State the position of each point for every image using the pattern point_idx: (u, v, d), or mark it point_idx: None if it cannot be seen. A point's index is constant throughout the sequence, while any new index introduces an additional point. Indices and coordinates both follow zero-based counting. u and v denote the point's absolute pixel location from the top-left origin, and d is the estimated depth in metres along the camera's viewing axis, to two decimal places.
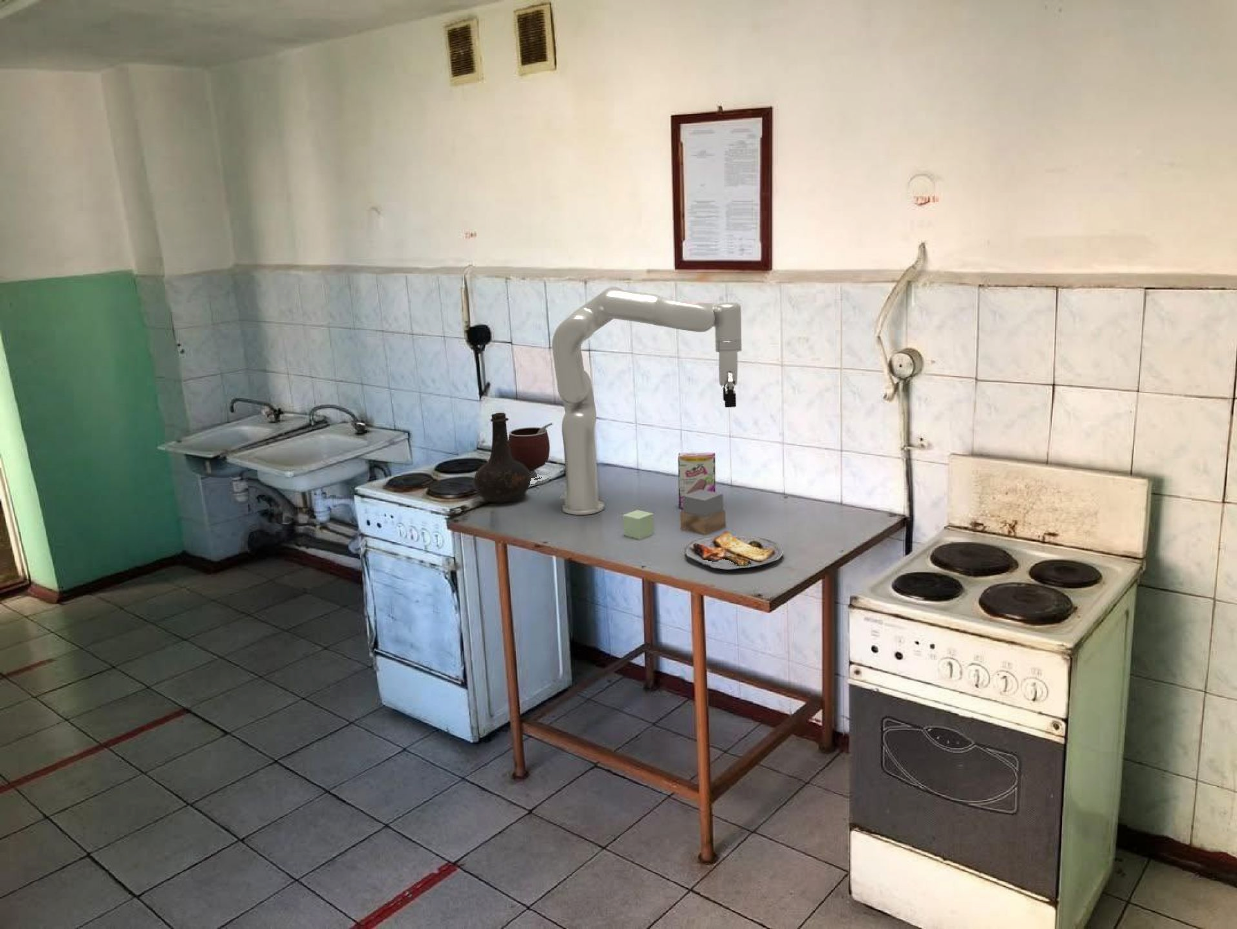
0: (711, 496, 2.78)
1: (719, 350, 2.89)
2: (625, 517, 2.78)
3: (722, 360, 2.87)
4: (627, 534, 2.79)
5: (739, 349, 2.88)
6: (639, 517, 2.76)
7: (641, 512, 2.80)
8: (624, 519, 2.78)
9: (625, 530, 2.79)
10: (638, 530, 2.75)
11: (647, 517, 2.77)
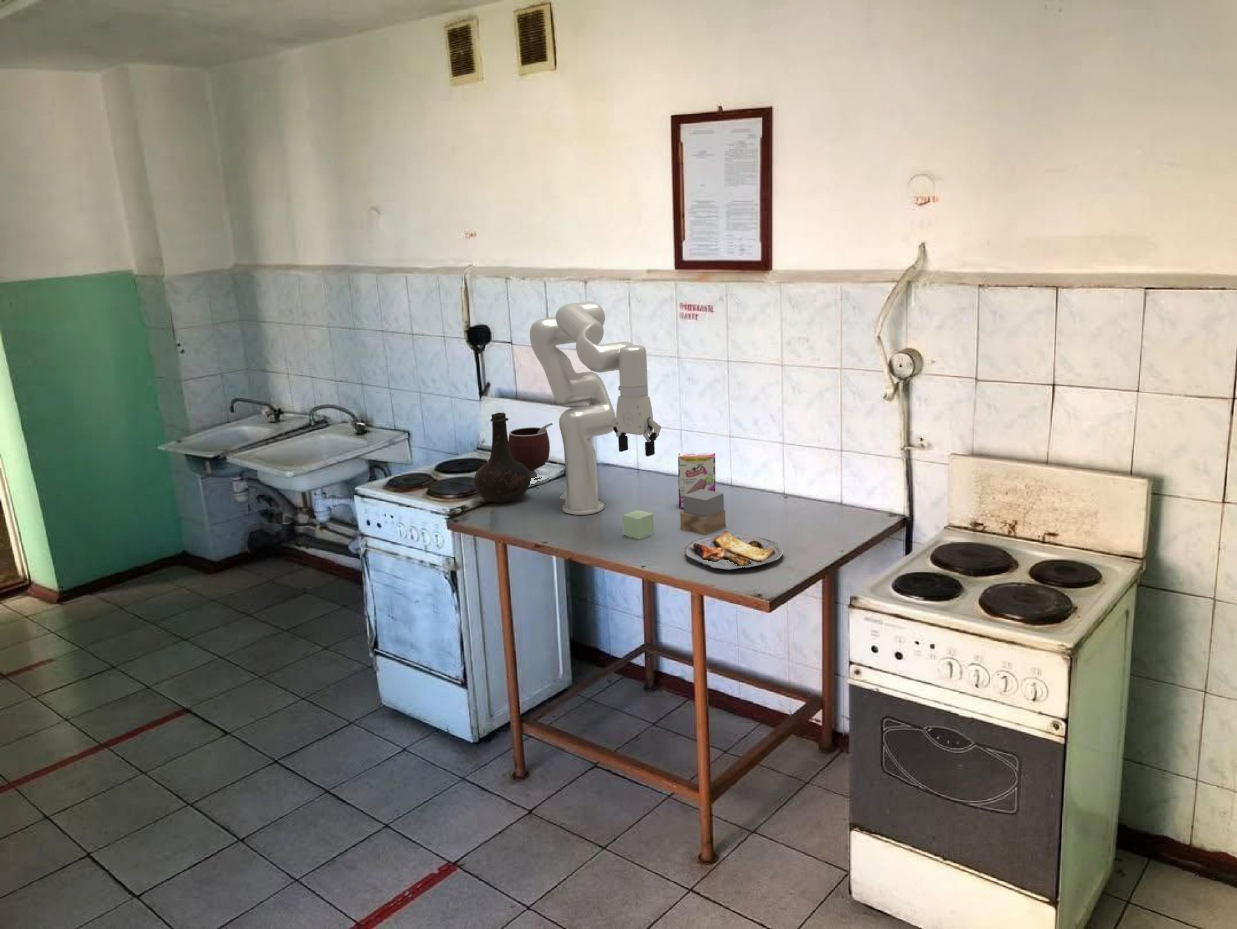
0: (712, 496, 2.79)
1: (633, 397, 2.67)
2: (625, 517, 2.78)
3: (642, 407, 2.66)
4: (627, 534, 2.79)
5: None
6: (639, 517, 2.76)
7: (641, 512, 2.80)
8: (624, 519, 2.78)
9: (625, 530, 2.79)
10: (638, 530, 2.75)
11: (647, 517, 2.77)
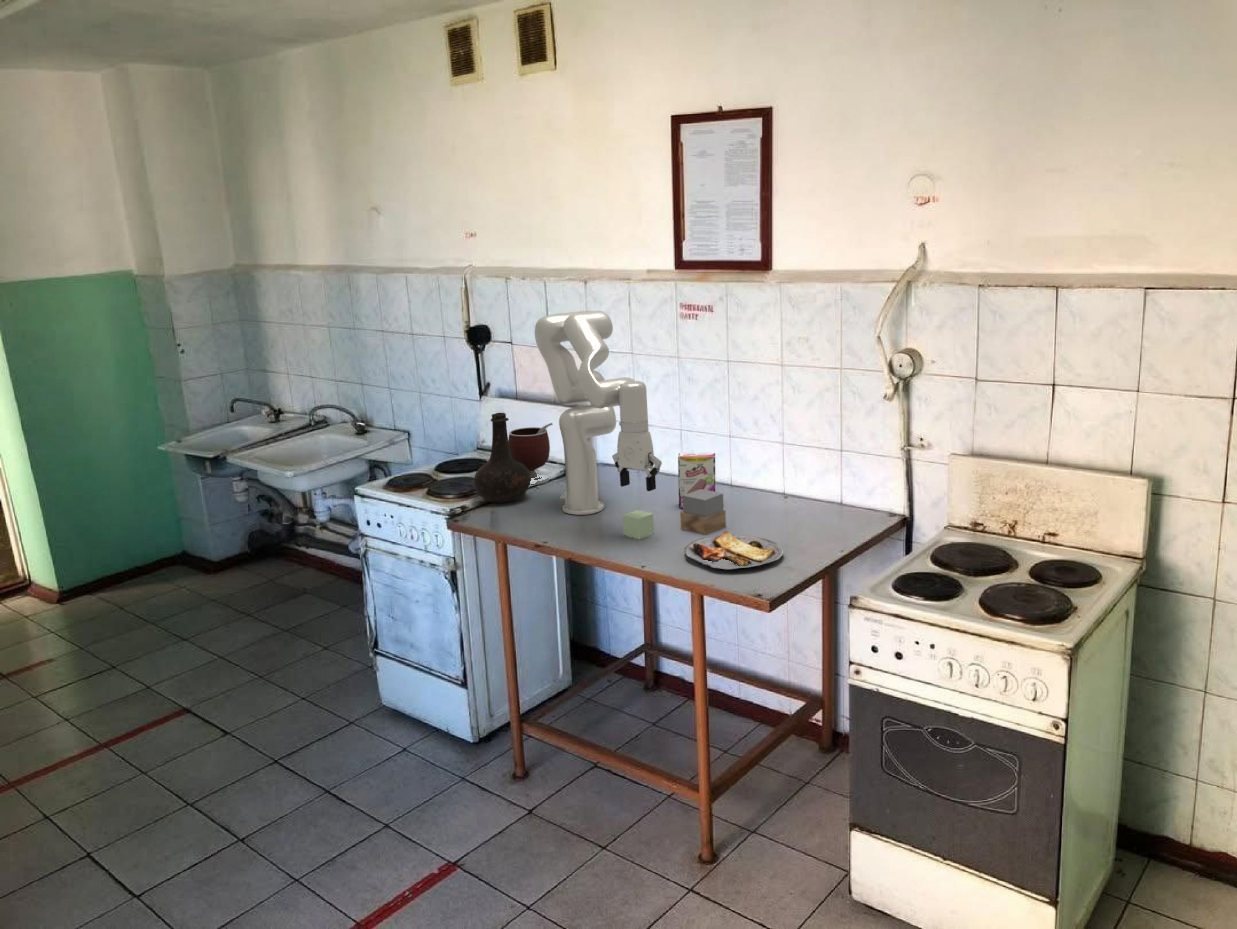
0: (711, 496, 2.79)
1: (634, 432, 2.69)
2: (625, 517, 2.78)
3: (642, 442, 2.68)
4: (627, 534, 2.79)
5: None
6: (639, 517, 2.76)
7: (641, 512, 2.80)
8: (624, 519, 2.78)
9: (625, 530, 2.79)
10: (638, 530, 2.75)
11: (647, 517, 2.77)
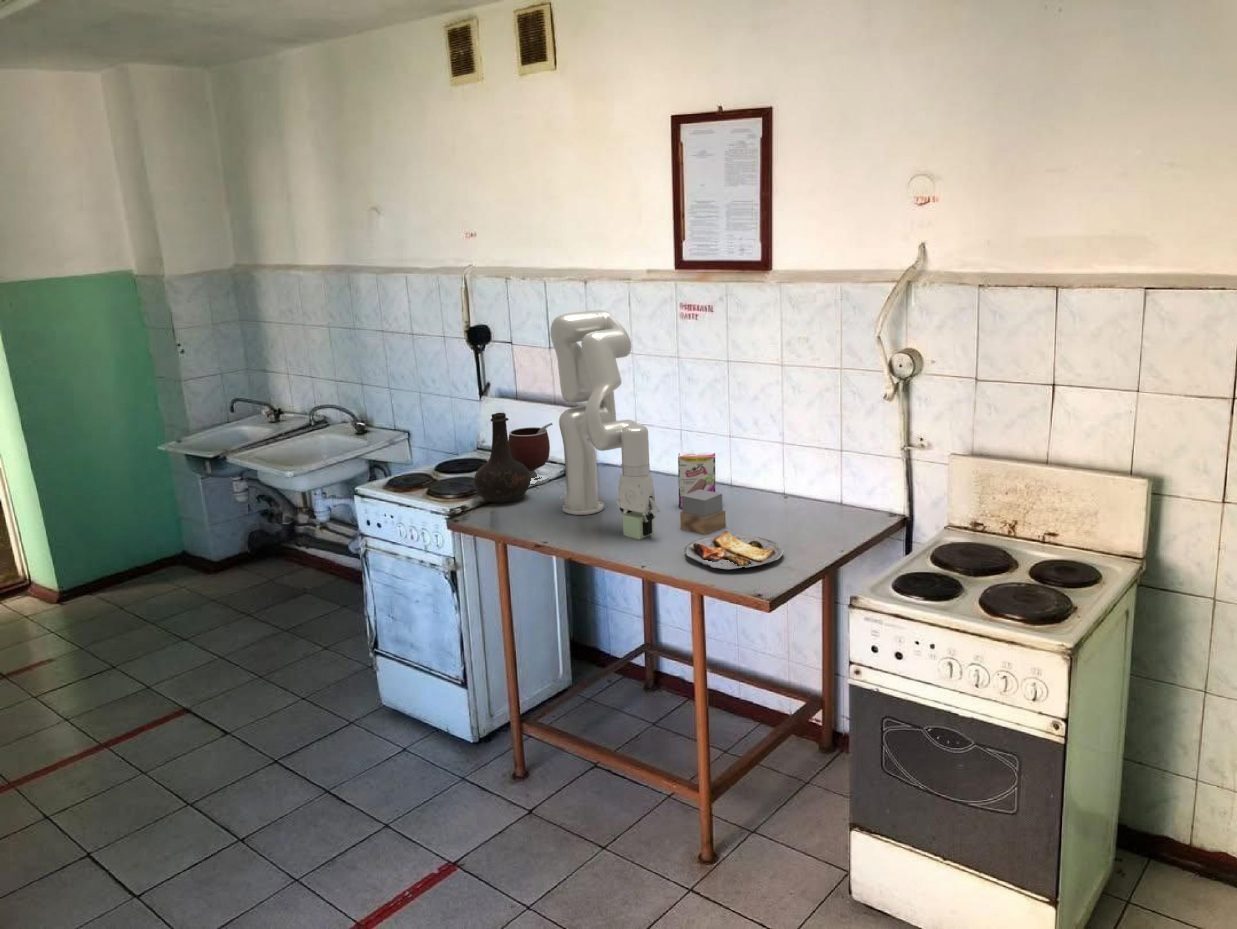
0: (711, 496, 2.78)
1: (635, 476, 2.72)
2: (625, 517, 2.78)
3: (643, 486, 2.71)
4: (627, 534, 2.79)
5: None
6: (639, 517, 2.75)
7: None
8: (624, 519, 2.78)
9: (624, 530, 2.79)
10: (638, 530, 2.75)
11: None
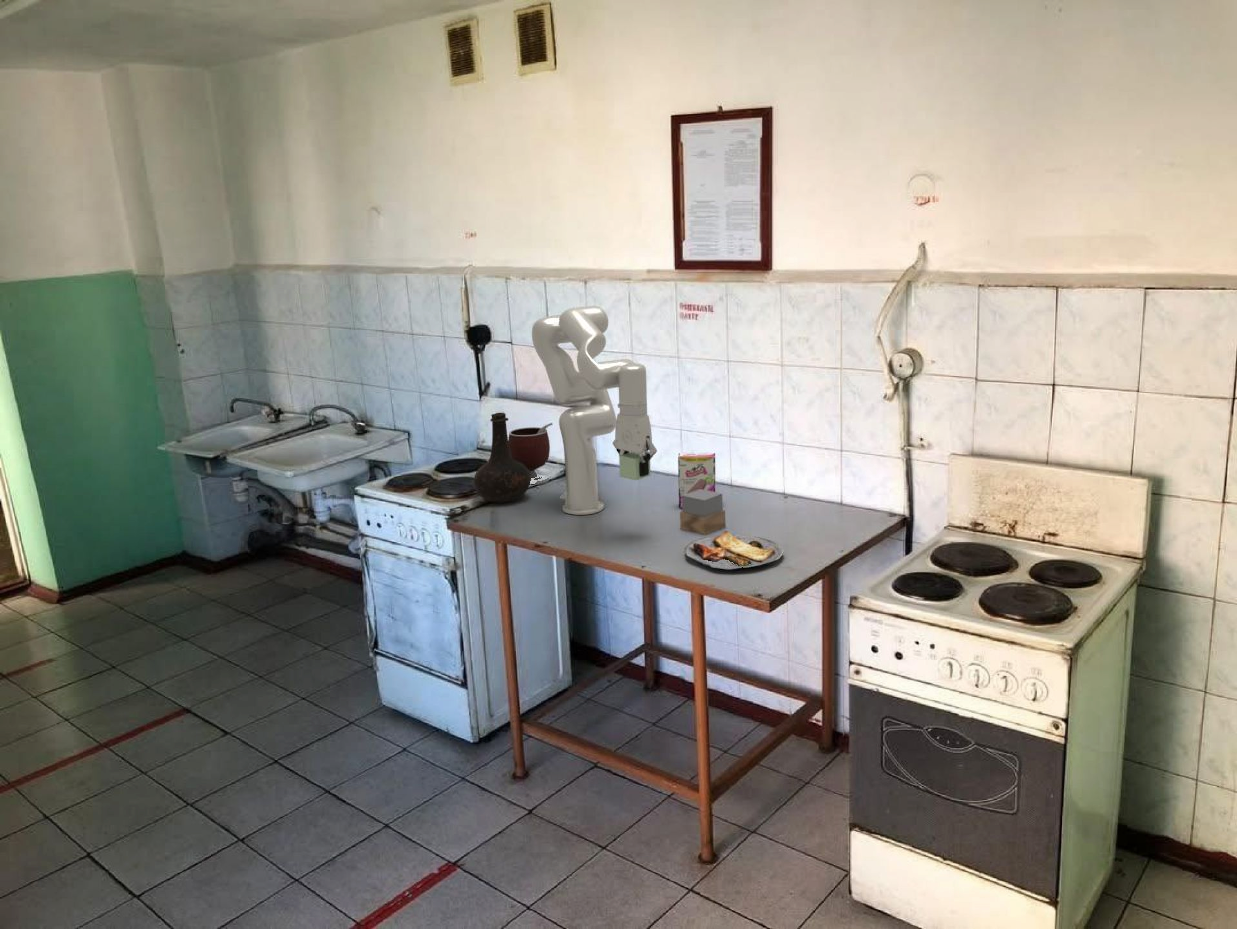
0: (711, 496, 2.78)
1: (632, 415, 2.68)
2: (621, 457, 2.74)
3: (641, 425, 2.67)
4: (623, 475, 2.75)
5: None
6: (636, 457, 2.72)
7: None
8: (621, 460, 2.74)
9: (621, 471, 2.75)
10: (635, 470, 2.71)
11: None
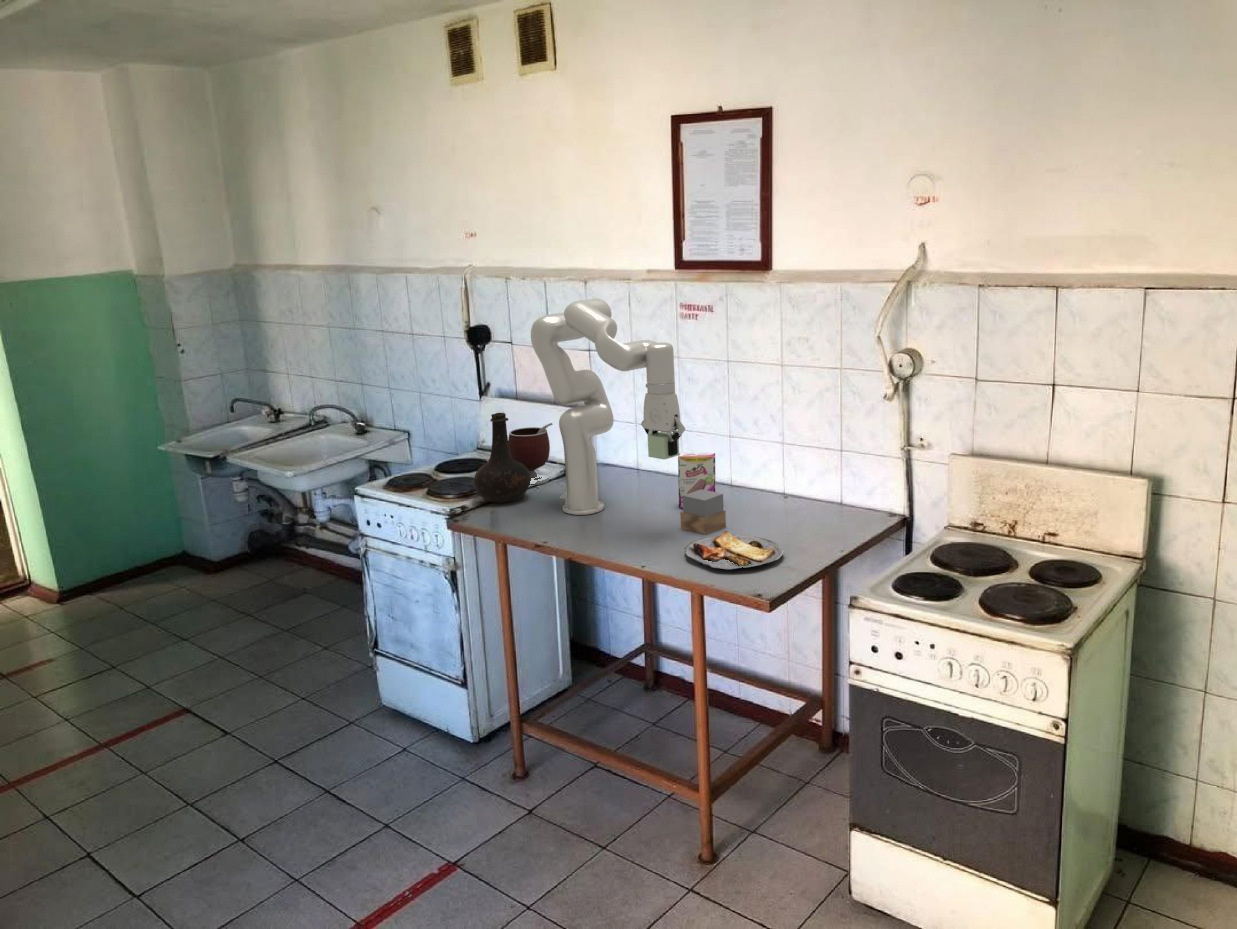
0: (711, 496, 2.78)
1: (660, 394, 2.68)
2: (650, 437, 2.73)
3: (669, 404, 2.67)
4: (652, 455, 2.74)
5: None
6: (664, 436, 2.71)
7: (666, 433, 2.75)
8: (649, 440, 2.74)
9: (649, 451, 2.75)
10: (663, 450, 2.71)
11: None
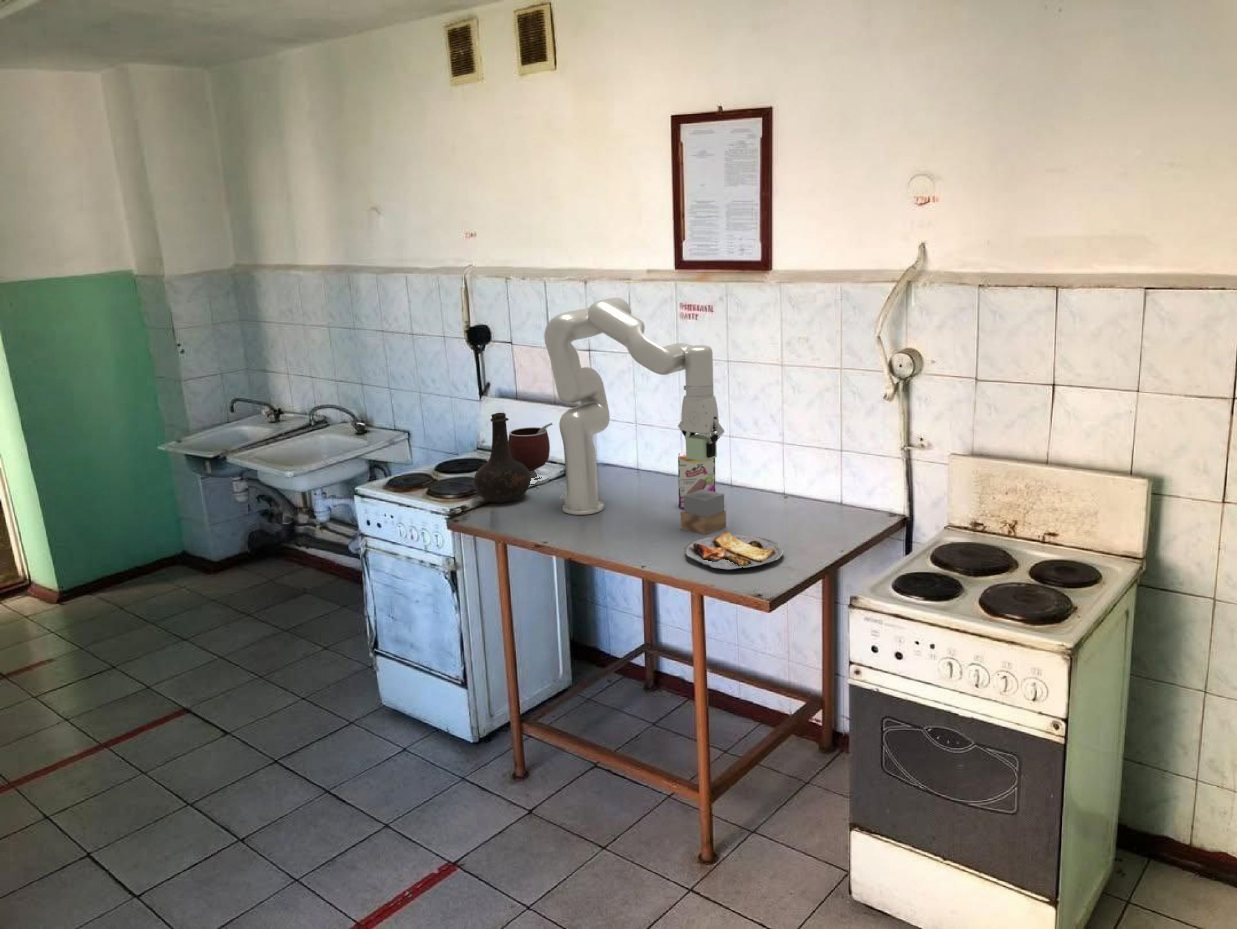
0: (712, 496, 2.78)
1: (699, 396, 2.70)
2: (688, 439, 2.75)
3: (708, 406, 2.69)
4: (690, 456, 2.76)
5: None
6: (703, 438, 2.73)
7: (704, 435, 2.78)
8: (687, 442, 2.76)
9: (687, 452, 2.77)
10: (702, 451, 2.73)
11: None
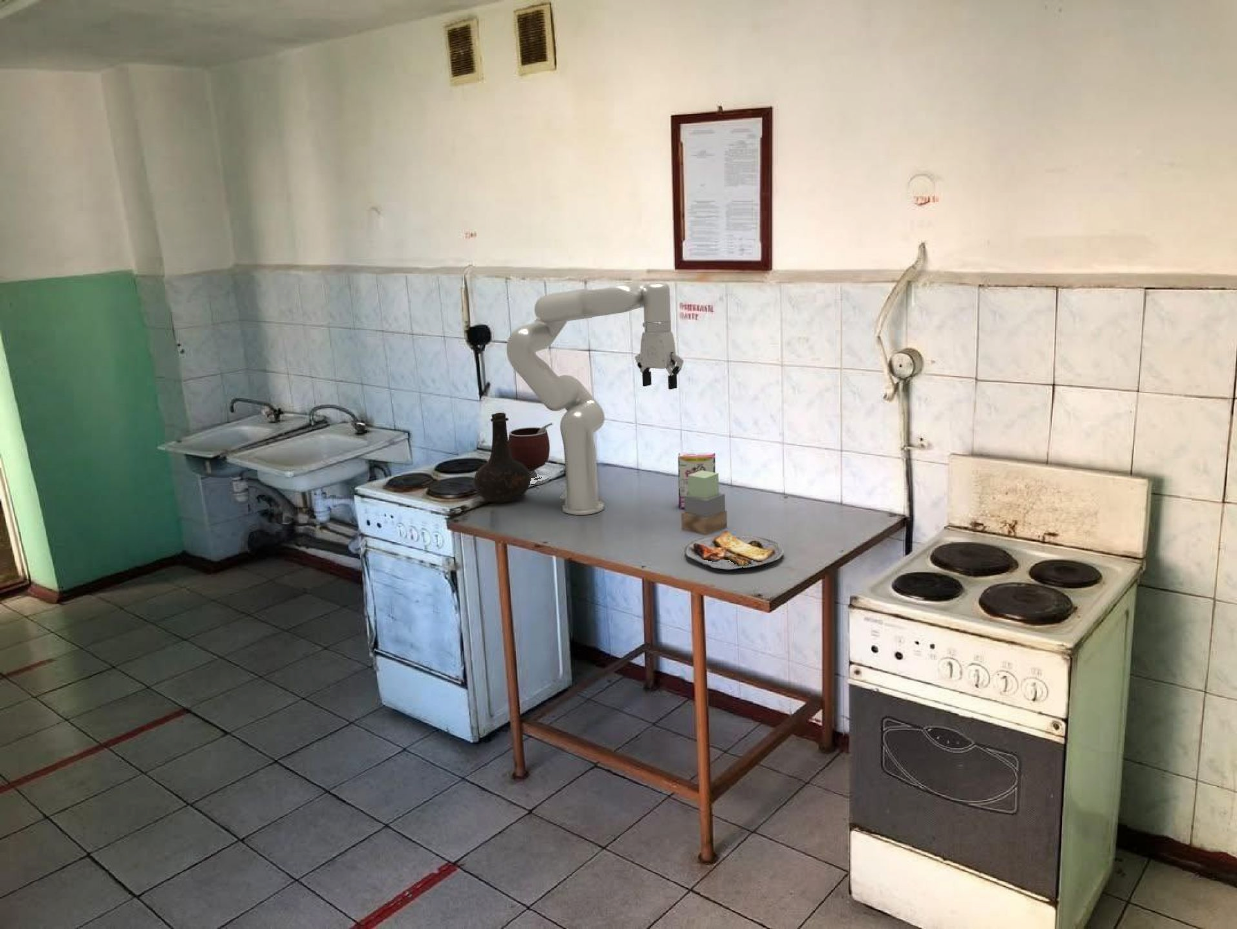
0: (713, 496, 2.78)
1: (657, 332, 2.79)
2: (691, 477, 2.78)
3: (665, 341, 2.79)
4: (692, 494, 2.79)
5: None
6: (705, 476, 2.76)
7: (706, 472, 2.81)
8: (690, 479, 2.79)
9: (690, 490, 2.79)
10: (704, 489, 2.76)
11: (713, 477, 2.77)
